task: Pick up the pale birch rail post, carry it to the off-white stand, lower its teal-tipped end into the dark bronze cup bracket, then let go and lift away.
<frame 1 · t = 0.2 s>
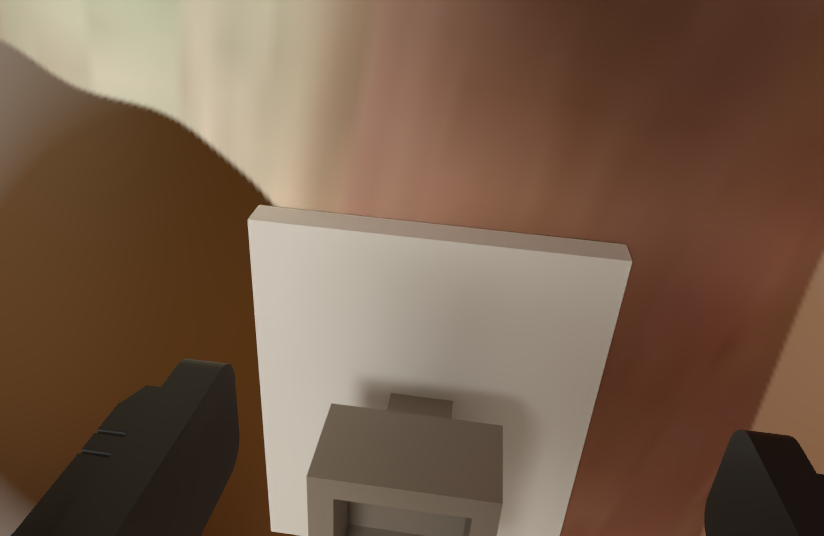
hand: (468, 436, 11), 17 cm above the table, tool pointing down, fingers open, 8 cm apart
cup bracket: (423, 399, 33), on the table
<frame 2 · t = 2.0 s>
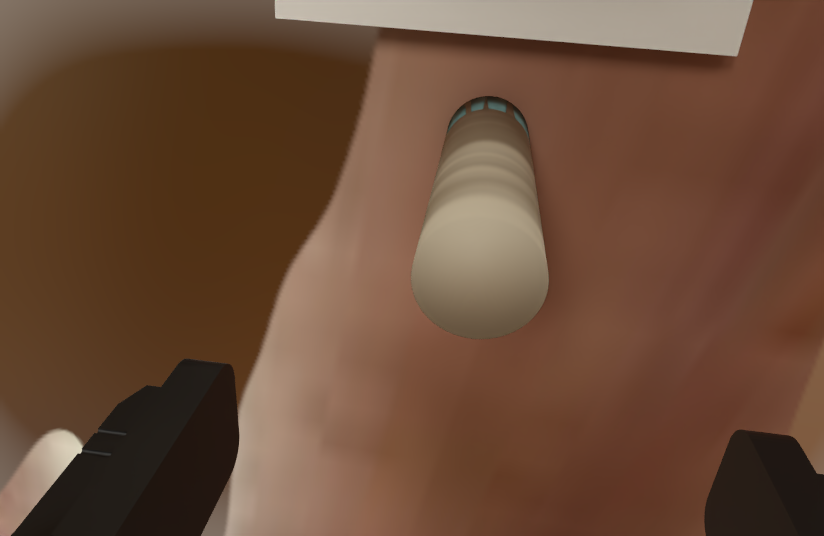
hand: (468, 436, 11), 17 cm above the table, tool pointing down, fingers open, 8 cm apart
rail post: (487, 136, 26), on the table
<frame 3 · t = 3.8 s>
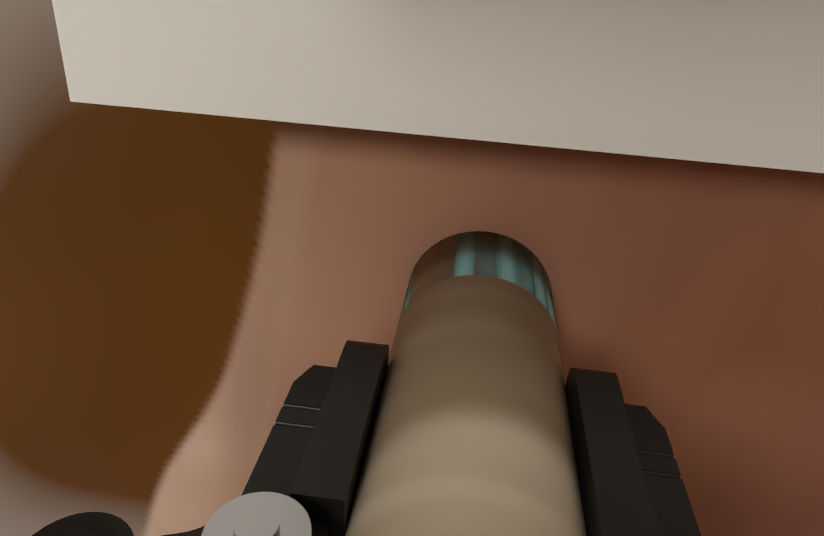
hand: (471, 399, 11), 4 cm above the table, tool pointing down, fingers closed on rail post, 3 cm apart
rail post: (478, 296, 15), on the table, touching gripper
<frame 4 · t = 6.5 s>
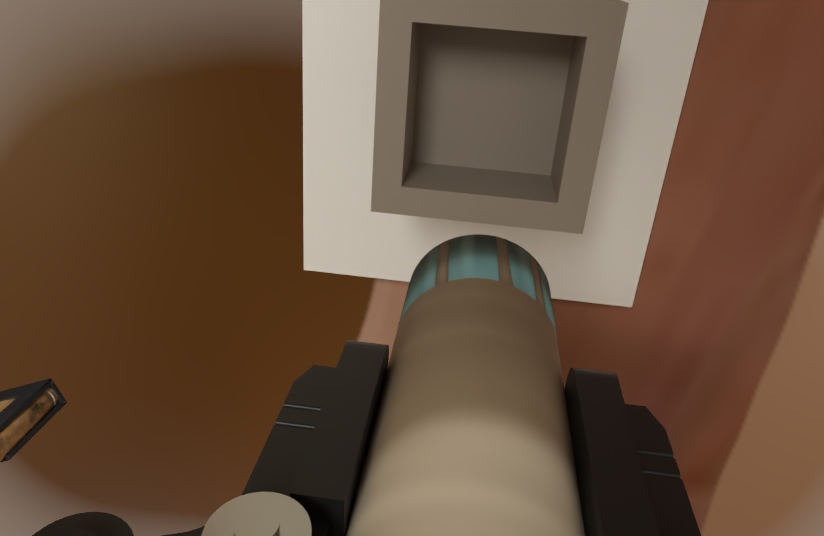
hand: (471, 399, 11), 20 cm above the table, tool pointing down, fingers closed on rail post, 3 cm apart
rail post: (478, 298, 15), point 17 cm above the table, touching gripper
cup bracket: (489, 71, 28), on the table
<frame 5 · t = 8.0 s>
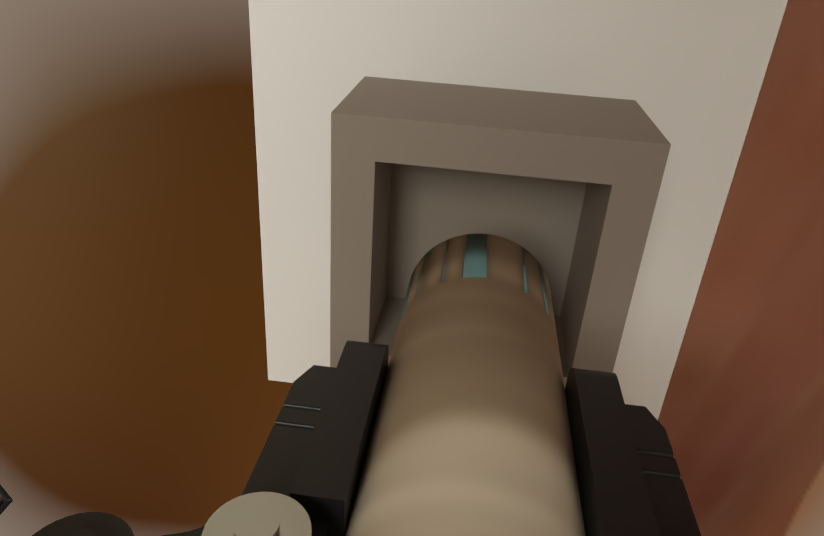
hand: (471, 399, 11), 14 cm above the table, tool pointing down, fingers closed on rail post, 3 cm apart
rail post: (478, 298, 15), point 10 cm above the table, touching gripper
cup bracket: (485, 159, 23), on the table
when the fingers open (11 cm above the table, at t = 9.2 s): rail post stays where it is, resting on cup bracket.
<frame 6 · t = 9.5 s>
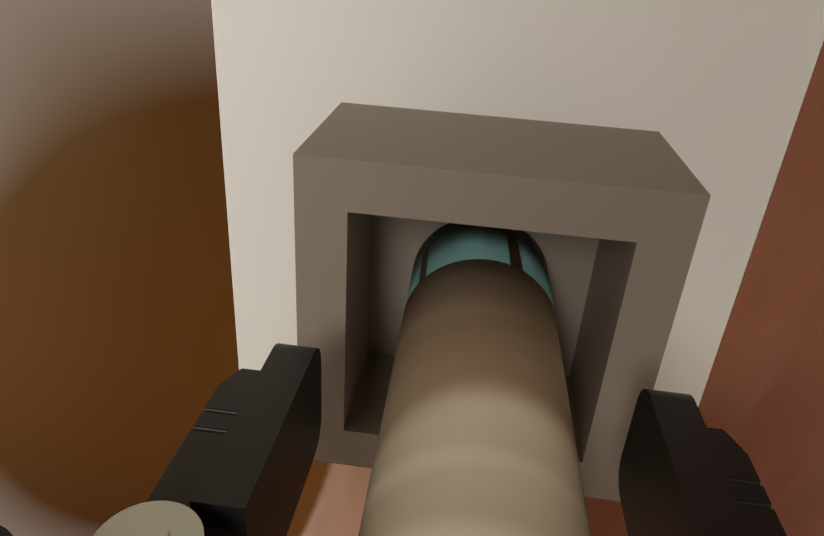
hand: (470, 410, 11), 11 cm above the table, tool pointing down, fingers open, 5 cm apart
rail post: (479, 277, 15), point 6 cm above the table, touching cup bracket
cup bracket: (483, 189, 21), on the table
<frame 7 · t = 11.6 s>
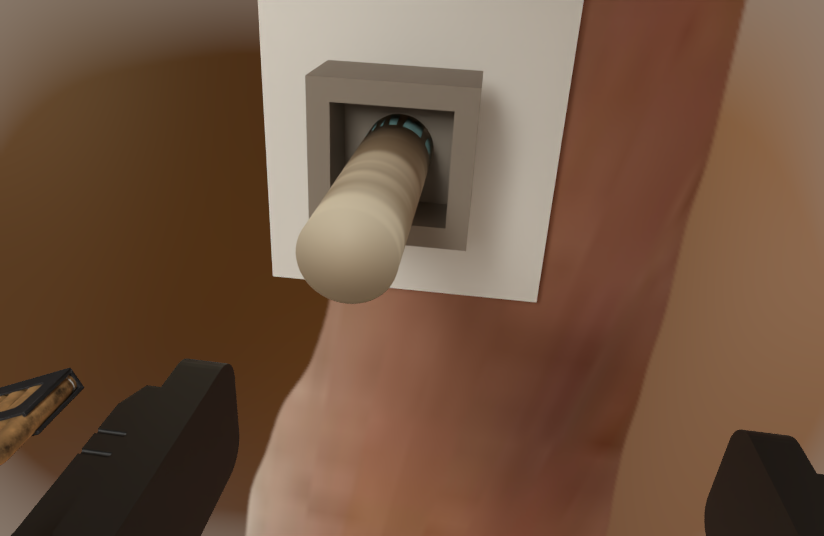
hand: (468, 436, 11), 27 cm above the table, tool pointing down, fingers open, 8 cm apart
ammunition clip: (23, 391, 49), on the table
rail post: (399, 147, 30), point 6 cm above the table, touching cup bracket
cup bracket: (413, 117, 36), on the table
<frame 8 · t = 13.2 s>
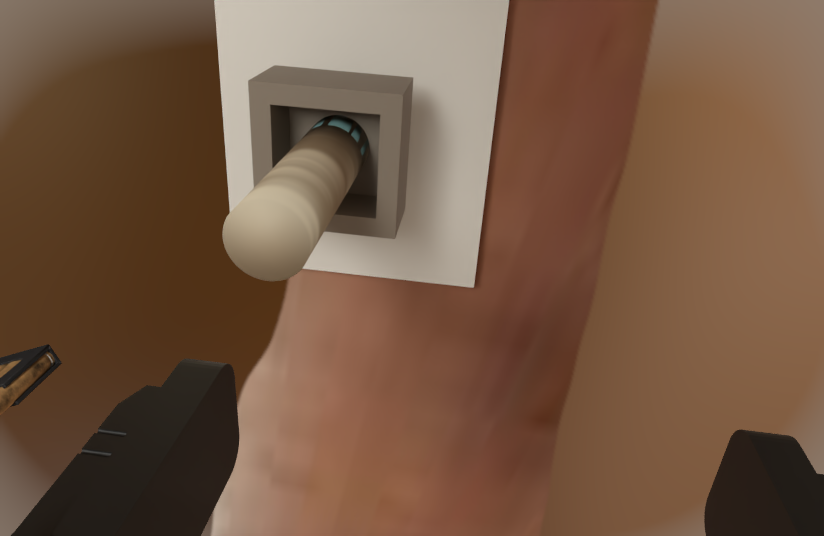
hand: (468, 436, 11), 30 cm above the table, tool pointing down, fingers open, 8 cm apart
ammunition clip: (5, 366, 52), on the table
rail post: (338, 145, 34), point 6 cm above the table, touching cup bracket
cup bracket: (360, 116, 39), on the table
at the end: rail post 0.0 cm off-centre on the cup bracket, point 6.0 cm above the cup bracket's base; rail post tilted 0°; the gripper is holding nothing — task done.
